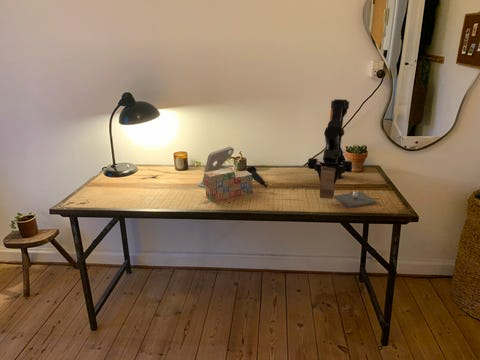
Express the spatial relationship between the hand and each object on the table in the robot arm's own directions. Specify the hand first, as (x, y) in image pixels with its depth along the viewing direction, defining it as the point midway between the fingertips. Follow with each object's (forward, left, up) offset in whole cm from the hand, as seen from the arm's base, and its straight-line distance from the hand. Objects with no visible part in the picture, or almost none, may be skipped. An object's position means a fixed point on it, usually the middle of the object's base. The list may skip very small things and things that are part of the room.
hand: (327, 182), depth 171 cm
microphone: (+19, -39, -11) cm, 44 cm away
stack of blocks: (+36, -25, -10) cm, 46 cm away
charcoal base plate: (-14, +1, -10) cm, 17 cm away
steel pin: (-14, +1, -10) cm, 17 cm away
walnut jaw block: (-1, -1, -7) cm, 7 cm away
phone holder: (+38, -43, -10) cm, 58 cm away
